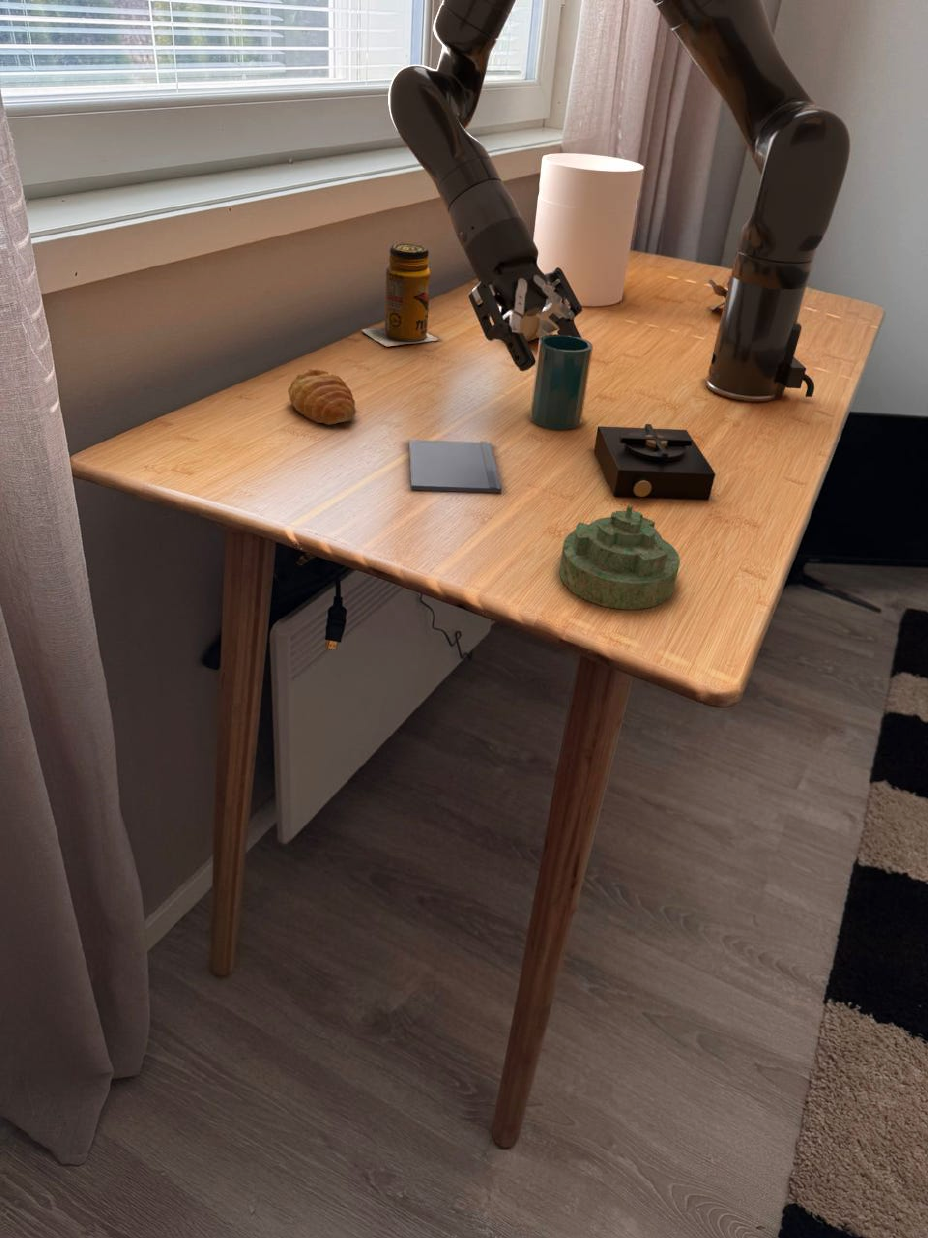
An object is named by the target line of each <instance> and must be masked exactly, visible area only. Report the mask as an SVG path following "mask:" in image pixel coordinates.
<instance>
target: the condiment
mask: <svg viewBox="0 0 928 1238" xmlns="http://www.w3.org/2000/svg"><path fill="white" fill-rule="evenodd" d="M429 252H430V251H429V249H428V248H427V247H426V246H423V245H422V244H417V243H409V242H408V243H406V242H402V243H400V242H399V243H395V244H392V245H391V246H390V248H389V258H388V262H389V264H388V266H387V267H386V270H385V299H384V300H385V301H384V303H385V304H384V326H381V327H374V328H362V329H361V331H362V332H363V333H364V334H366V336H369V337H370V338H371V339H373V340H374V341H375V342H378V343H380V344H381V345H383V346H385V347H393V346H395V347H396V346H401V345H406V344H407V345H409V344H412V345H413V344H420V343H428V342H437V341H438V340H439V338H438V337H435V336H434V335H431V334H429V333H428V325H429V312H430V311H429V309H430V308H429V303H430V288H431V286H430V285H431V270H430V268H429V254H430V253H429Z"/></svg>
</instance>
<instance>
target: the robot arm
mask: <svg viewBox="0 0 928 1238" xmlns="http://www.w3.org/2000/svg"><path fill="white" fill-rule="evenodd" d="M652 2H653V3H654V5H655V6H656V8H657V9H658V11H659V13H660V15H661V16H662V17H663V19H664V21H665V23H666V24H667V26H668V27H669V29H670V31H671V32H672V33H673V35H674V37H675V38H676V39H677V40H678V42H679V43H680V45H681V47H683V49H684V51H685V52H686V53H687V55H688V56H689V58H690V59H691V60H692V61H693V63H694V64H695V66H697V68H698V70H699V71H700V72H701V73H702V74H703V75H704V77H705V78H706V79H707V81H708V82H709V83H710V84H711V85H712V87H713V88H714V89H715V91H717V93H718V94H719V95H720V97H721V98H722V100H723V101H724V103H725V105H726V107H727V108H728V110H729V112H730V114H731V115H732V117H733V120H734V121H735V123H736V126H737V127H738V129H739V131H740V133H741V135H742V137H743V139H744V142H745V144H746V146H747V149H748V151H749V153H750V155H751V157H752V160H753V162H754V164H755V166H756V168H757V171H758V173H759V175H760V176H761V177H760V181H759V184H758V187H757V191H756V192H757V193H756V195H755V200H754V204H753V208H752V211H751V214H750V216H749V218H748V220H747V221H746V222H745V224H744V225H743V226H742V228H741V230H740V235H739V238H738V243H737V248H736V250H735V251H736V252H735V256H734V261H733V263H732V269H731V274H730V282H729V286H728V288H727V289H726V290H727V295H726V298H724V301H725V303H724V305H723V309H722V313H721V316H720V321H719V324H718V325H719V326H718V330H717V334H716V337H715V343H714V348H712V350H711V353H710V365H709V367H708V373H707V376H706V380H705V386H706V387H707V388H708V389H709V390H710V391H712V392H714V393H716V394H717V395H720V396H723V397H725V398H729V399H733V400H737V401H744V402H754V403H755V402H758V403H759V402H768V401H771V400H775V399H778V400H779V399H783V396H784V393H785V389H786V388H788V389H801V388H802V384H803V382H804V383H805V384H806V388H807V389H806V392H805V398H813V394H814V391H815V384H814V381H813V379H812V378H811V377H810V376H809V374H806V371H807V368H806V367H805V365H804V364H803V363H802V362H801V361H799V359H797V358H796V357H795V354H796V350H797V346H798V343H799V340H800V336H801V332H802V325H801V324H800V323H799V322H798V319H799V316H800V315H799V314H800V311H801V307H802V304H803V300H804V297H805V293H806V289H807V286H808V282H809V279H810V275H811V271H812V268H813V264H814V261H815V258H816V254H817V252H818V251H817V250H818V248H819V246H820V245H821V243H822V241H823V240H824V237H825V236H826V234H827V232H828V230H829V227H830V224H831V221H832V218H833V214H834V212H835V208H836V205H837V202H838V198H839V195H840V192H841V189H842V187H843V183H844V180H845V177H846V172H847V169H848V164H849V161H850V153H851V136H850V132H849V129H848V126H847V125H846V123H845V122H844V120H843V119H842V118H841V117H840V116H839V115H837V114H836V113H835V112H833V111H831V110H829V109H827V108H824V107H822V106H820V105H818V104H817V102H815V100H814V99H813V98H812V97H811V96H810V95H809V93H808V92H807V91H806V89H805V88H804V87H803V86H802V83H801V82H800V81H799V80H798V78H797V77H796V75H795V74H794V73H793V71H792V70H791V68H790V67H789V65H788V63H787V62H786V60H785V58H784V57H783V55H782V53H781V51H780V49H779V46H778V45H777V41H776V39H775V37H774V33H773V31H772V28H771V27H772V26H771V24H770V21H769V17H768V14H767V11H766V8H765V5H764V2H763V0H652ZM516 3H517V0H442V3H441V4H440V6H439V8H438V11H437V12H436V13H437V14H436V16H435V19H434V22H433V33H434V36H435V38H436V39H437V41H438V42H439V43H440V44H441V46H442V47H441V52H440V55H439V59H438V64H437V67H436V69H434V68H431V67H429V66H426V65H422V64H411V65H408V66H405V67H403V68H401V69H400V70H399V71H398V72H397V73H396V74H395V75H394V77H393V79H392V81H391V83H390V86H389V89H388V109H389V114H390V117H391V121H392V123H393V125H394V127H395V129H396V131H397V133H398V135H399V137H400V138H401V139H402V141H403V142H404V143H405V146H407V148H408V149H409V151H410V153H412V155H413V156H414V158H415V159H416V160H417V162H418V163H419V164H420V166H421V167H422V168H423V169H424V170H425V171H426V173H427V174H428V176H429V177H430V178H431V180H432V181H433V183H434V185H435V188H436V190H437V193H438V195H439V197H440V199H441V201H442V203H443V205H444V207H445V210H446V211H447V214H448V216H449V218H450V221H451V224H452V227H453V229H454V233H455V235H456V238H457V240H458V241H459V243H460V245H461V247H462V249H463V251H464V254H465V256H466V258H467V260H468V263H469V264H470V266H471V268H472V270H473V272H474V274H475V276H476V278H477V281H478V284H477V285H476V286H475V287H474V288H473V289H472V290H470V292H469V293H468V299H469V302H470V304H471V307H472V308H473V311H474V314H475V315H476V318H477V320H478V323H479V325H480V327H481V330H482V332H483V334H484V337H485V338H486V340H488V341H490V342H492V341H494V340H498V341H500V342H501V343H502V344H504V345H505V346H506V348H507V351H508V353H509V354H510V356H511V359H512V361H513V363H514V365H515V366H516V368H518V369H519V371H521V372H526V371H528V370H530V369H531V368H532V367H533V366H536V362H537V359H536V358H535V356H534V353H533V351H532V349H531V347H530V345H529V343H528V341H526V339H525V337H524V335H523V333H518V332H519V331H520V323H521V319H522V318H523V317H525V316H529V317H531V316H535V315H536V316H537V317H538V318H539V319H541V320H547V321H548V322H549V323H551V324H552V325H553V326H554V327H555V328H557V329H558V330H556V333H557V335H570V336H576V337H579V338H582V336H581V334H580V332H579V330H578V327H577V325H576V324H575V319H576V317H577V316H578V315H579V314H581V313H582V312H583V306H581V305H580V303H579V301H578V299H577V297H576V296H575V294H574V292H573V290H572V288H571V286H570V284H569V282H568V281H567V279H566V277H565V275H564V273H563V271H562V270H561V269H560V268H559V267H557V268H555V269H554V270H553V271H552V272H550V273H547V274H544V273H543V272H542V271H541V270H540V269H539V267H538V265H537V258H538V249H537V247H536V245H535V243H534V241H533V239H534V238H533V237H532V235H531V233H530V230H529V229H528V226H527V224H526V223H525V221H524V219H523V216H522V214H521V212H520V210H519V209H518V208H519V207H517V204H516V202H515V199H514V198H513V197H512V195H511V193H510V192H509V190H508V189H507V187H506V185H505V184H504V182H503V179H502V178H501V176H500V174H499V172H498V170H497V168H496V166H495V164H494V162H493V159H492V158H491V156H490V154H489V152H488V150H487V149H486V147H485V146H484V145H483V144H482V143H481V142H480V141H479V140H477V139H476V138H474V137H473V136H471V135H470V134H469V132H467V131H466V130H467V129H468V127H469V126H470V124H471V122H472V120H473V118H474V116H475V113H476V111H477V108H478V105H479V101H480V98H481V93H482V91H483V87H484V82H485V79H486V76H487V71H488V66H489V62H490V57H491V53H492V51H493V49H494V48H495V46H496V45H497V42H498V39H499V38H500V36H501V34H502V31H503V30H504V28H505V26H506V24H507V21H508V20H509V17H510V15H511V13H512V11H513V10H514V7H515V6H516ZM566 299H567V301H568V303H569V305H568V307H566V305H565V303H564V301H565V300H566ZM547 300H549V301H550V302H551V303H550V304H548V305H547V306H546V307H545V305H546V302H547ZM555 311H556V312H558V313H559V314H560V317H558V316H556V315H555V314H554V313H553V312H555ZM492 323H493V324H492Z"/></svg>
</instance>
